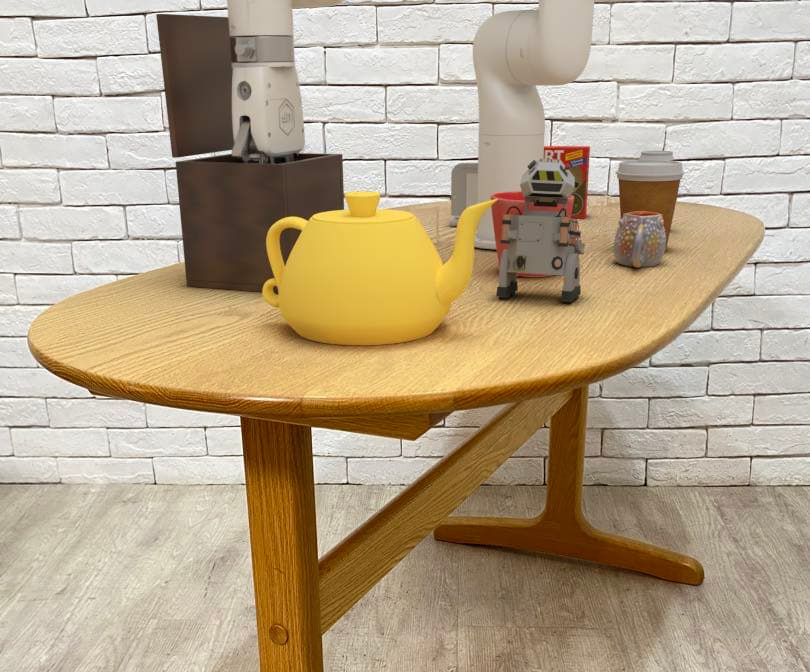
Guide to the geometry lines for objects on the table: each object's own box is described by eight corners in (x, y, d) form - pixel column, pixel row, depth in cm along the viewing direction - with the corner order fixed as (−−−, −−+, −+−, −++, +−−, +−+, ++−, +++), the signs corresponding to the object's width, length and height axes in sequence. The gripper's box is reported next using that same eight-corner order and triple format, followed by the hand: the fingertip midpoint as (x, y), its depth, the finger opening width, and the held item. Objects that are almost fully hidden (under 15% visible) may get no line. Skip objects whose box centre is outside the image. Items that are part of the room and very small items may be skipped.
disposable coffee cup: (683, 246, 160) (691, 160, 156) (669, 256, 152) (677, 166, 148) (620, 243, 164) (625, 159, 159) (603, 252, 156) (608, 164, 151)
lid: (234, 17, 137) (229, 17, 138) (161, 13, 124) (155, 14, 124) (245, 148, 143) (240, 148, 144) (177, 157, 130) (172, 157, 131)
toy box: (481, 216, 193) (483, 147, 188) (485, 213, 197) (486, 145, 192) (584, 218, 189) (588, 148, 185) (586, 215, 193) (590, 146, 188)
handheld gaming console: (531, 220, 188) (534, 159, 184) (529, 227, 180) (531, 163, 176) (456, 219, 190) (456, 158, 186) (450, 226, 182) (451, 163, 178)
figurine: (592, 289, 132) (600, 158, 126) (567, 307, 122) (574, 166, 116) (520, 284, 135) (524, 156, 129) (490, 302, 126) (493, 164, 120)
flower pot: (585, 269, 144) (589, 192, 140) (546, 283, 136) (549, 201, 132) (514, 262, 150) (516, 188, 146) (473, 275, 141) (474, 197, 137)
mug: (615, 258, 152) (618, 208, 149) (666, 259, 150) (670, 209, 147) (604, 273, 141) (608, 220, 139) (658, 275, 140) (663, 221, 137)
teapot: (510, 317, 118) (514, 185, 113) (475, 357, 103) (477, 206, 97) (294, 306, 125) (288, 180, 119) (230, 342, 109) (219, 199, 103)
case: (346, 272, 144) (342, 154, 138) (288, 294, 131) (281, 164, 125) (251, 265, 150) (243, 151, 144) (186, 286, 137) (175, 161, 131)
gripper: (252, 53, 121) (263, 222, 128) (324, 53, 135) (329, 205, 143) (195, 54, 124) (208, 219, 131) (271, 54, 138) (279, 203, 145)
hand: (271, 210), depth 137 cm, fingers closed on ink box, 5 cm apart
